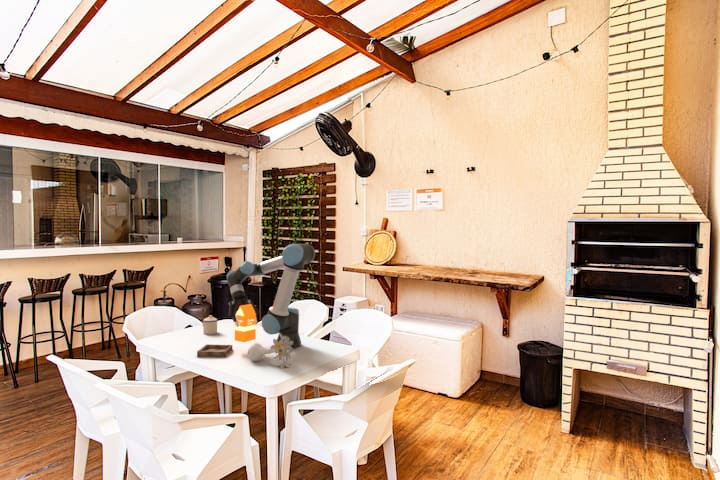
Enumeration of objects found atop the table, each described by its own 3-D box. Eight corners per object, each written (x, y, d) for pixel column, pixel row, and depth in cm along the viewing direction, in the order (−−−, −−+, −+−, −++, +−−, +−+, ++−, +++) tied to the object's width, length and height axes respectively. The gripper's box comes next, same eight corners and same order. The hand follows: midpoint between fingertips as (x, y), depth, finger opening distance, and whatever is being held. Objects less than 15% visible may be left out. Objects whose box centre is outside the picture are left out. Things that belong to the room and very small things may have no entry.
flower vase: (249, 375, 218) (288, 371, 208) (239, 342, 216) (277, 336, 206) (264, 364, 230) (301, 359, 220) (254, 333, 228) (291, 326, 218)
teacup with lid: (220, 332, 280) (220, 315, 280) (209, 335, 273) (209, 317, 273) (208, 330, 287) (208, 313, 287) (197, 332, 279) (197, 315, 279)
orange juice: (234, 340, 236) (234, 305, 235) (246, 337, 243) (246, 303, 243) (244, 342, 232) (244, 306, 231) (255, 339, 239) (256, 304, 239)
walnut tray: (232, 350, 240) (232, 345, 240) (224, 357, 226) (224, 351, 226) (206, 349, 240) (206, 344, 240) (197, 356, 226) (197, 351, 226)
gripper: (254, 296, 256) (264, 326, 244) (217, 299, 243) (225, 331, 230) (257, 288, 252) (268, 318, 239) (220, 291, 239) (229, 323, 226)
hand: (247, 324), depth 235 cm, fingers closed on orange juice, 10 cm apart
